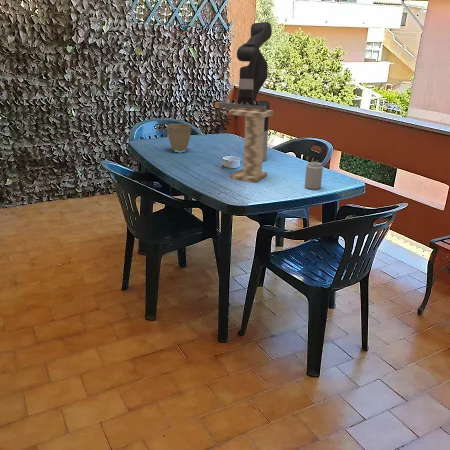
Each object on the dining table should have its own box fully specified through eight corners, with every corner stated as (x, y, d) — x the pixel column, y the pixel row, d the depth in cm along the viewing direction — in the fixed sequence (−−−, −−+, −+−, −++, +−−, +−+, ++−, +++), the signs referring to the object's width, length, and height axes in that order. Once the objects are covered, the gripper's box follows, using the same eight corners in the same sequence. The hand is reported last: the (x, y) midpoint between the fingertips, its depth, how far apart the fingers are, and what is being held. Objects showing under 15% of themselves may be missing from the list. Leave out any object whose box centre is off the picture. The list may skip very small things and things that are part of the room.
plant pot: (163, 150, 281) (162, 124, 276) (185, 148, 288) (185, 123, 282) (172, 155, 269) (171, 128, 263) (195, 153, 276) (195, 126, 270)
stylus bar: (215, 107, 223) (215, 102, 222) (217, 107, 225) (217, 101, 224) (264, 111, 212) (264, 106, 211) (266, 111, 214) (266, 105, 213)
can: (308, 190, 210) (311, 165, 205) (301, 186, 216) (304, 161, 212) (323, 189, 212) (326, 164, 207) (316, 185, 218) (318, 160, 214)
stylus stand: (226, 178, 226) (228, 108, 214) (238, 171, 238) (240, 105, 225) (259, 183, 219) (263, 111, 206) (270, 176, 230) (274, 108, 218)
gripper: (260, 88, 235) (259, 120, 240) (233, 87, 238) (232, 119, 243) (258, 89, 228) (256, 121, 234) (230, 87, 231) (229, 120, 237)
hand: (244, 120), depth 238 cm, fingers open, 8 cm apart
